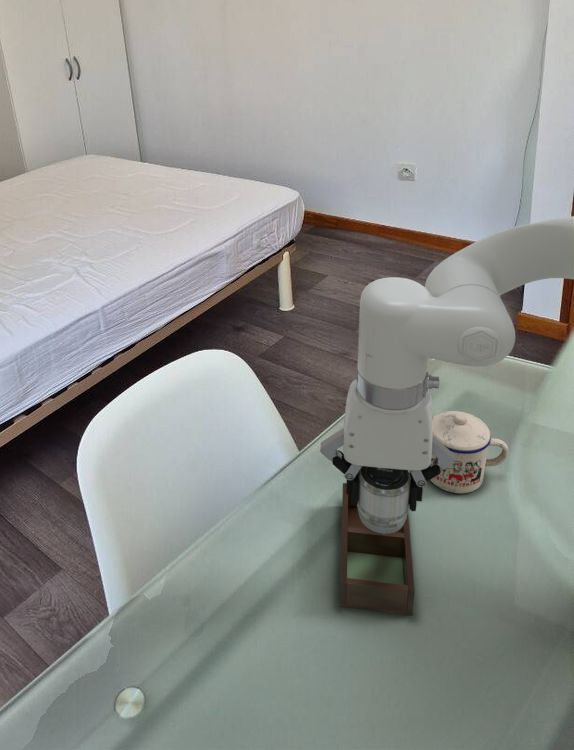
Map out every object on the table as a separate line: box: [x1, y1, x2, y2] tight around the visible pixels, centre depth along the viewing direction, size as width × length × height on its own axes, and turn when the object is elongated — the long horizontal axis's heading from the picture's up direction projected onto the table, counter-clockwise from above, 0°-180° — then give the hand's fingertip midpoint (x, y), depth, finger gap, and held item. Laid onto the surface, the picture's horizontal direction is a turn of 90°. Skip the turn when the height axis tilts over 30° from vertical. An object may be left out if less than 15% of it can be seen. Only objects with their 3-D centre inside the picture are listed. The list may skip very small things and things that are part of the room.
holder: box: [339, 482, 416, 616], centre depth 95 cm, size 9×17×4 cm, turn 168°
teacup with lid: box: [430, 410, 509, 494], centre depth 106 cm, size 12×9×12 cm
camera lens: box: [357, 466, 411, 534], centre depth 86 cm, size 6×6×8 cm
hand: (382, 498), depth 86 cm, fingers closed on camera lens, 6 cm apart
